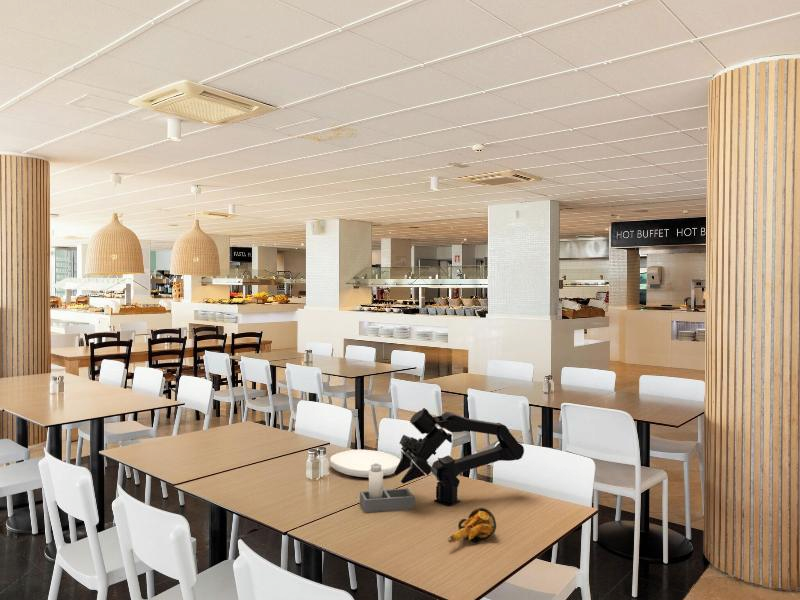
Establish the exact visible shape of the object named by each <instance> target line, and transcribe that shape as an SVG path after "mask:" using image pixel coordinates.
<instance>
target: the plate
mask: <svg viewBox="0 0 800 600" xmlns="http://www.w3.org/2000/svg"><path fill="white" fill-rule="evenodd" d="M400 460H401V458H398V457H397V456H395V455H394V454H390V453H388V452H383V451H379V450H371V449H351V450H344V451H341V452H337V453H335V454H333V455H331V456H330V458H329V465H330V468H333V469H334V470H336V471H337V472H339V473H342V474H344V475H346V476H347V475H348V476H352V477H359V478H369V470H370V469H371V465H373V464H375V463H378V464H379V465H381V469H382V470H383V477H386V476H391V475H393V474H394V472H395V470H396V468H397V466H398V464H399V462H400Z"/></svg>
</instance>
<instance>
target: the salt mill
mask: <svg viewBox="0 0 800 600" xmlns="http://www.w3.org/2000/svg"><path fill="white" fill-rule="evenodd" d="M383 490H384V476H383V470H382V469H381V465H379V464H378V463H375V464H373V465H371V469H370V470H369V477H368V491H369V499H377V498H383Z"/></svg>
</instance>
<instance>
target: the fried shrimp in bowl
mask: <svg viewBox="0 0 800 600" xmlns="http://www.w3.org/2000/svg"><path fill="white" fill-rule="evenodd" d="M457 525H458V526H457V527H458V530H457V531H454V532H453V533H452V534H451V535H450V536H449V537H448V538H447V540H448V543H449V544H450V543H456V542H458V541H460V540H461V539H464V541H466V542H467V543H470V544H473V545H474V544H475V545H476V544H480V543H481V542H486V541H488V540H490V539H491V538H492V537H493V536H494V534H495V532H496V529H497V521H496V518H495V516H494V514H493V512H491V510H489V509H487V508H485V507H478V508H475V509H473V510H472V511H471V512H470V513H469V515H468V517H467V518H462V519H461V520H459V522H458V524H457Z"/></svg>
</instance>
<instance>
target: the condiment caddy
mask: <svg viewBox="0 0 800 600" xmlns="http://www.w3.org/2000/svg"><path fill="white" fill-rule="evenodd" d="M415 498H416V497H415V495H414V494H413V493H412V492H411V490H410V489H409V488H408V487H406V488H393V489H383V498H377V499H369V490H365V491H364V490H363V491H359V505H360V507H361V506H362V507H361V509H362V511H363V512H364V514H365V513H367V512H368V513H378V512H379V513H380V512H393V511H404V510H405V511H406V509H408V510H415V504H416V503H415V502H416V501H415Z"/></svg>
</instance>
